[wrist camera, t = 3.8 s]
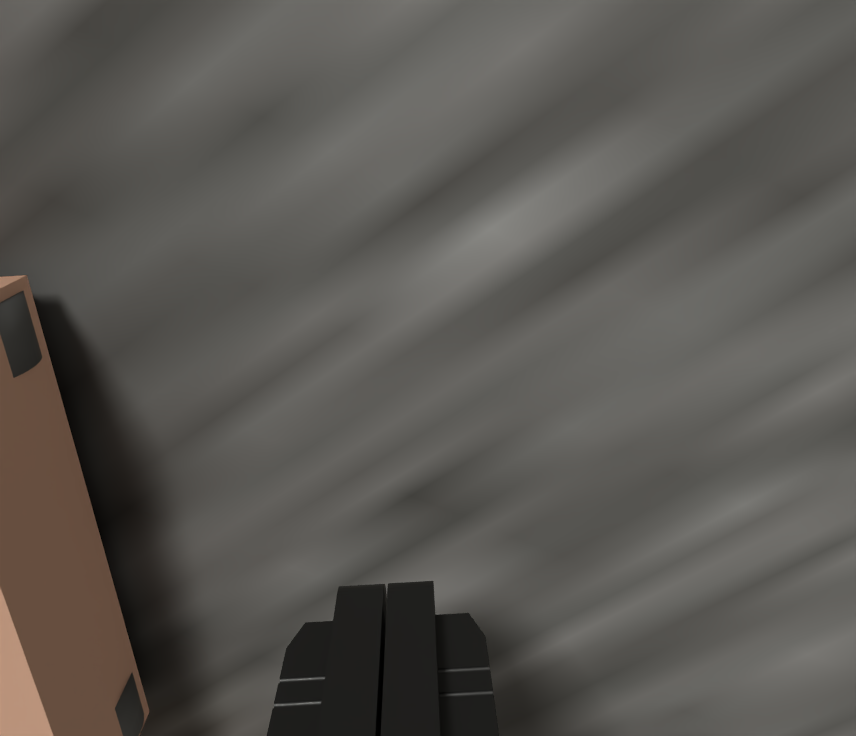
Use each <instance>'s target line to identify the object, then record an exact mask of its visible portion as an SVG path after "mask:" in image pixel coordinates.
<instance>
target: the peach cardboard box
mask: <svg viewBox="0 0 856 736" xmlns="http://www.w3.org/2000/svg"><path fill="white" fill-rule="evenodd" d="M148 714H149V708H148V704H147V701H146V697H145V694H144V690H143V687H142V683H141V679H140V676H139V672H138V669H137V665H136V662H135V658H134V655H133V651H132V647H131V644H130V640H129V637H128V633H127V630H126V626H125V623H124V619H123V615H122V612H121V608H120V605H119V601H118V598H117V594H116V591H115V587H114V583H113V580H112V576H111V573H110V569H109V566H108V562H107V559H106V555H105V551H104V548H103V544H102V541H101V537H100V534H99V530H98V527H97V523H96V519H95V516H94V512H93V509H92V505H91V502H90V498H89V495H88V491H87V487H86V484H85V480H84V477H83V473H82V470H81V466H80V463H79V459H78V455H77V452H76V448H75V445H74V441H73V438H72V434H71V431H70V427H69V423H68V420H67V416H66V413H65V409H64V406H63V402H62V399H61V395H60V391H59V388H58V384H57V381H56V377H55V374H54V370H53V367H52V363H51V359H50V356H49V352H48V349H47V345H46V342H45V338H44V335H43V331H42V327H41V324H40V320H39V317H38V313H37V310H36V306H35V302H34V299H33V295H32V292H31V288H30V285H29V281H28V278H27V275H22V276H7V277H0V736H140V733H141V731H142V728H143V726H144V724H145V721H146V719H147V716H148Z"/></svg>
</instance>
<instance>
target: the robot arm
mask: <svg viewBox="0 0 856 736" xmlns="http://www.w3.org/2000/svg"><path fill="white" fill-rule="evenodd" d="M267 736H499V732H498V725H497V717H496V710H495V703H494V696H493V688H492V681H491V674H490V668H489V659H488V652H487V645H486V637H485V635H484V634H483V633H482V631H481V630H480V628H479V627H478V626H477V624H476V623H475V621H474V620H473V619H472V617H471V616H470V614H469V613H462V614H444V615H435V601H434V585H433V581H424V582H407V583H389V584H388V591H387V594H386V587H385V584H375V585H358V586H340V587H339V588H338V592H337V599H336V605H335V612H334V619H333V621H326V622H308V623H305V624H304V625H303V627H302V628H301V629H300V631H299V632H298V633H297V635H296V636H295V637H294V639H293V640H292V641H291V643H290V644H289V645H288V647H287V648H286V652H285V657H284V661H283V666H282V670H281V675H280V683H278V688H277V692H276V697H275V701H274V708H273V710H272V715H271V719H270V724H269V728H268V732H267Z"/></svg>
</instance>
